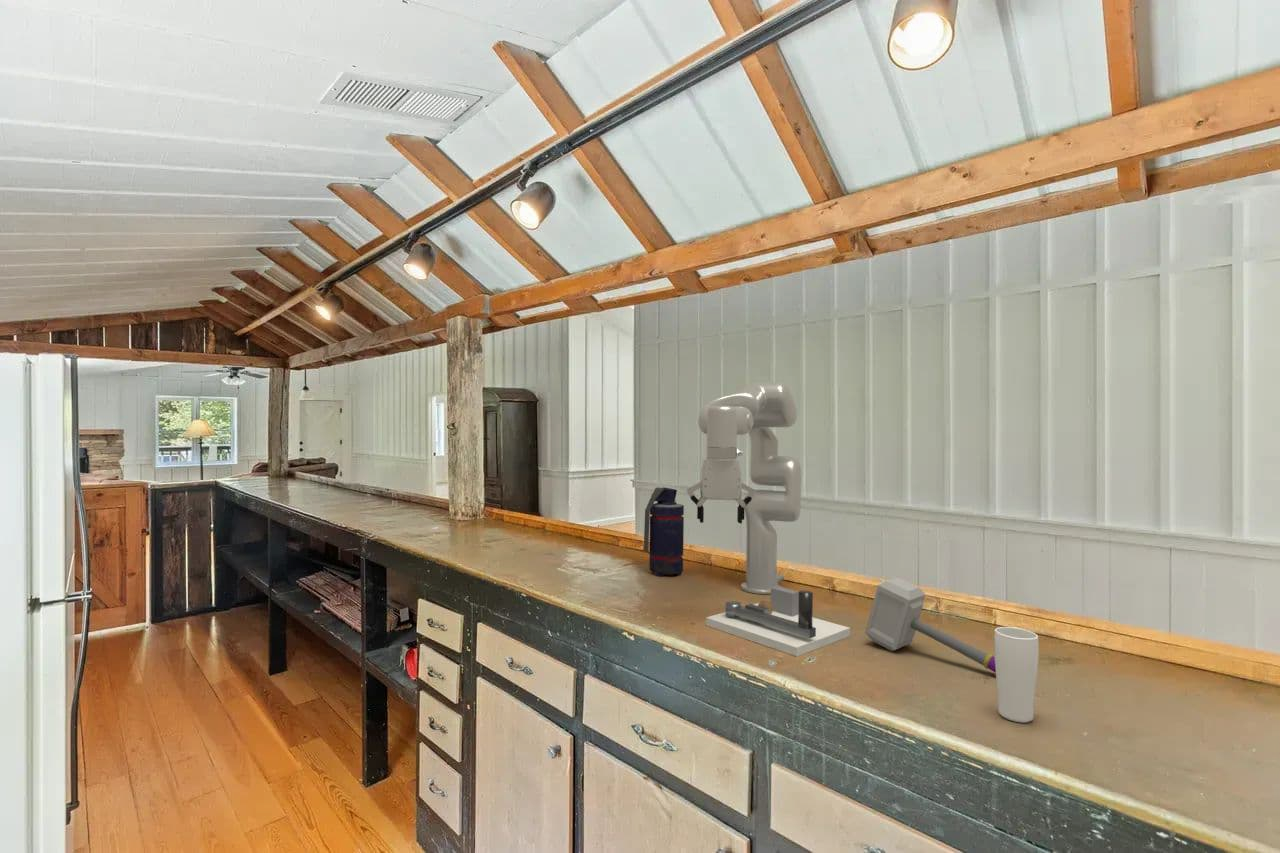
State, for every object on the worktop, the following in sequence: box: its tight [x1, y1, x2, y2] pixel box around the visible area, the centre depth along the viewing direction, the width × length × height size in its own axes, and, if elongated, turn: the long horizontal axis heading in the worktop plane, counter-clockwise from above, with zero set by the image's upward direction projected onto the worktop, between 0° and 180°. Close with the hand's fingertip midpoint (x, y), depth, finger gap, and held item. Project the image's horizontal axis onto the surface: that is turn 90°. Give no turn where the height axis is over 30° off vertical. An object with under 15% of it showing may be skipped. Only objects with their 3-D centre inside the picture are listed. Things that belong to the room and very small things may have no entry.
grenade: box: [643, 486, 685, 578], centre depth 216 cm, size 14×12×30 cm
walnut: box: [758, 600, 773, 614], centre depth 159 cm, size 4×4×4 cm
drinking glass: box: [993, 626, 1040, 723], centre depth 110 cm, size 7×7×15 cm
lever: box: [725, 589, 816, 639], centre depth 152 cm, size 26×5×10 cm, turn 40°
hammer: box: [864, 577, 996, 673], centre depth 136 cm, size 15×8×30 cm
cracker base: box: [705, 586, 851, 657], centre depth 155 cm, size 28×22×8 cm
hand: (720, 522), depth 155 cm, fingers open, 9 cm apart
